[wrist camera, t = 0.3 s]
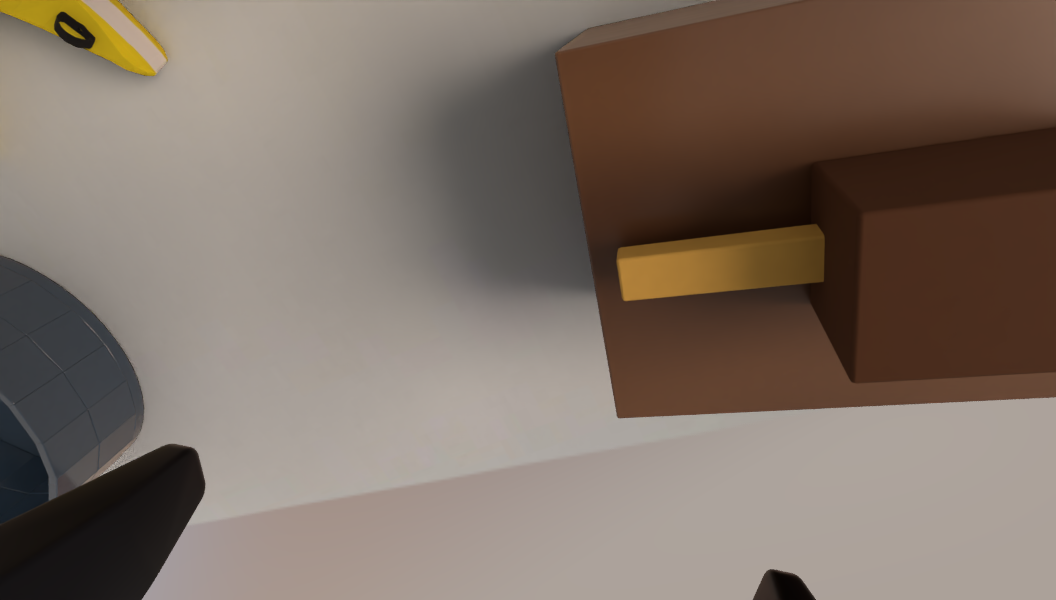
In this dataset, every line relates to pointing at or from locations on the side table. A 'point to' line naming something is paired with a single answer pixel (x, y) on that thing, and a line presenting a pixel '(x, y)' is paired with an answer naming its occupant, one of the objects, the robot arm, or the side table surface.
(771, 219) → the stand
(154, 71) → the game controller
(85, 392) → the bowl
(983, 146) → the chocolate ice cream bar
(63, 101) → the side table surface
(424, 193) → the side table surface
